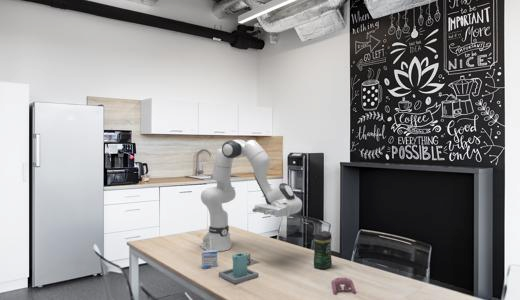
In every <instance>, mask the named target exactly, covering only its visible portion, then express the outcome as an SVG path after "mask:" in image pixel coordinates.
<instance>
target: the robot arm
mask: <svg viewBox="0 0 520 300" xmlns="http://www.w3.org/2000/svg"><path fill="white" fill-rule="evenodd" d="M241 157H242V158H243V157H245V158H247V160H248V162H249V163H250V165H251V167H252V171H253V176H254V178H255V181H256V183H257V184H258V187H259V189H260V191H261V193H262V194H263V197H264V199H265V203H259V204H255V205H254V207H253V208H251V209H252V211H251V212H253V213H260V214H264V215H270V216H274V217H277V218H278V217H286V218H287V217H289V216H290V215H294V214H295V215H296V214H297V213H299V212H301V210H302V208H303V201H302V200H301V198H299V197H298V196H296V194H295V192H294V189H293V188H292V186H291V185H289V184H288V183H287V182H282V183H280V184H278V185H277V186H276V187H275V188H274V189H273V188H272V187H271V185H270V183H269V181H268V179H267V174H268V170H269V168H270V164H271V159H270V157H269V155H268V154H267V152H266V151H265V149H264V148H263V147H262V146H261V145H260V144H259V143H258V142H257V141H256V140H254V139H249V140H246V139H236V138H235V139H232V140H227V141H225V142H224V143H223V144H222V146H221V148H219V149H218V150H217V152H216V154H215V158H214V162H213V168H212V169H213V170H212V178H213V180H215V181H216V186H213V187H208V188H206V189H204V190H202V192H201V194H200V200H201V202H202V203H203V205H205V206H206V208H207V210H208V212H209V219H210V220H209V223H210V225H209V226H208V231H207V233H206V234H205V235H203V238H202V242H201V243H200V244H199V245H200V246H201V247H200V246H199V247H200V248H202V249H203V250H204V249H205V250H204V251H206V250H217V252H222V251H227V250H230V249H231V248H232V246H233V243H232V242H231V234H230V232H229V230H230V227H229V219H228V217H229V215H228V214H229V213H228V211H226V210H224V207H223V204H227V203H229V202H231V201H234V200H235V198H236V190H235V188H234V187H233V186H232V182H231V175H232V174H231V173H232V166H233V165H232V164H233V161H234V159H239V158H241Z"/></svg>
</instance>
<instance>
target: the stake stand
mask: <svg viewBox="0 0 520 300" xmlns="http://www.w3.org/2000/svg"><path fill="white" fill-rule="evenodd" d="M245 255H247V267H251V266H253V265H256V264H260V263H262V262H261V261H258V260H255V259H253V258H251V253H246V254H245Z"/></svg>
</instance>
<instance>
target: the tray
mask: <svg viewBox="0 0 520 300" xmlns="http://www.w3.org/2000/svg"><path fill="white" fill-rule="evenodd" d="M218 277H219V278H221V279H223V280H224V281H227V282H229V283H230V284H233V285H238V284H241V283H244V282H248V281H250V280H254V279H257V278H259V272H257V271H254V270H252V269H249V268H247V275H246V276H243V277H240V278H239V277H236V276H234V275H233V268H231V269H230V268H229V269H225V270H223V271H219V272H218Z"/></svg>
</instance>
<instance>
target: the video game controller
mask: <svg viewBox="0 0 520 300" xmlns="http://www.w3.org/2000/svg"><path fill="white" fill-rule="evenodd" d="M341 285H343V288H342V286H341ZM349 289H350V290H351V292H352V293H353V294H355V293H356V288H355V284H354V282H353V280H352V279H350V278H349V277H341V276H340V277H337V278H334V279H332V280H331V290H332V292H333V294H334V295H337V292H342V290H343V291H344V292H348V291H349Z"/></svg>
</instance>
